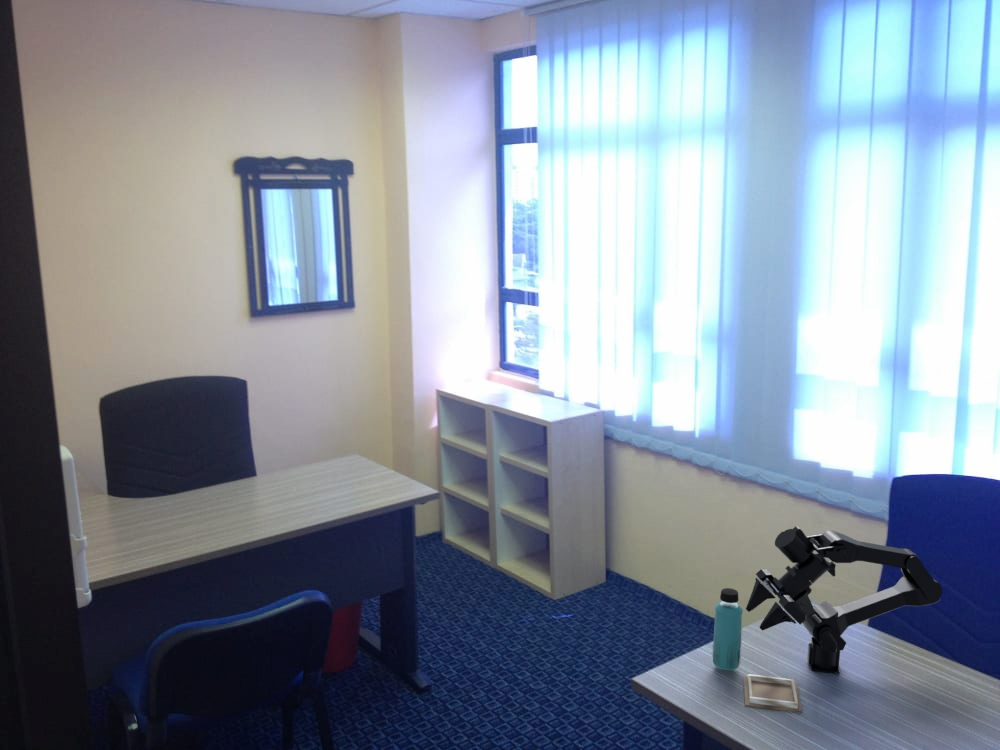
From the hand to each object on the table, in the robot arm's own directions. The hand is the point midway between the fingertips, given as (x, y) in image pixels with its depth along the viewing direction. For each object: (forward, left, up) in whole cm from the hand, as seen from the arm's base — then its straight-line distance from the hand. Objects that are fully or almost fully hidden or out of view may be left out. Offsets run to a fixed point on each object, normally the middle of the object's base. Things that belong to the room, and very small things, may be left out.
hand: (753, 619), depth 212 cm
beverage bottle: (+6, +2, -13) cm, 14 cm away
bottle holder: (-4, +11, -13) cm, 17 cm away
